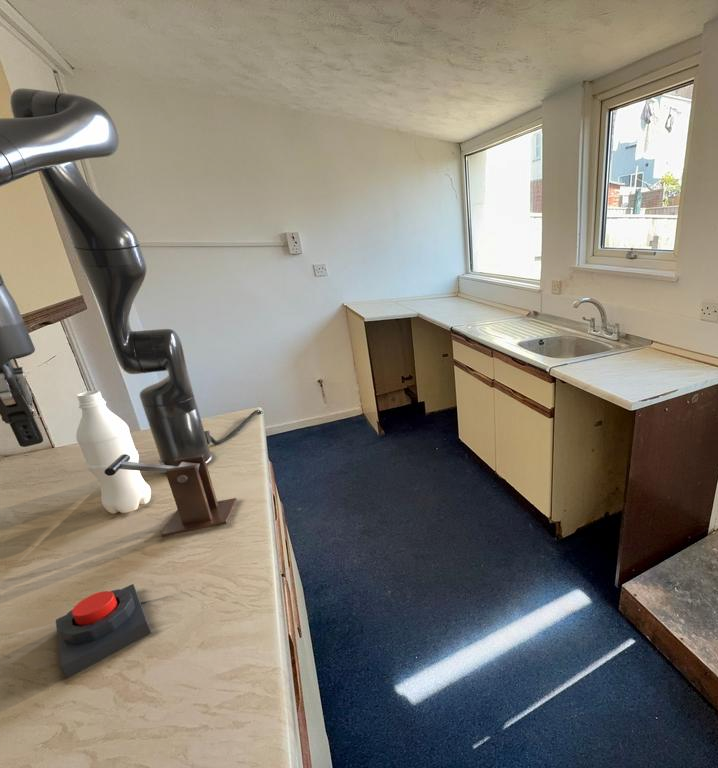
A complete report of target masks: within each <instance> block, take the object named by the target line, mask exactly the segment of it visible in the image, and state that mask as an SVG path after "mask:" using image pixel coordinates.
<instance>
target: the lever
mask: <svg viewBox="0 0 718 768" xmlns="http://www.w3.org/2000/svg"><path fill="white" fill-rule="evenodd" d="M129 460H130V456H129V455H127V454H123V455H121V456H120V457H119V458H118V459H117V460H115V461H114V462H113V463H112V464H111V465H110V466H109V467H108V468H107V469H106V470H105V474H106V475H108V476H112V475H114V474H115V473H116V472H117V471H118V470H119V469H126V470H138V471H140V472H149V473H150V472H151V473H161V474H162V473H163V474H166V470H167V469H172V468H178V467H185V466H191V465H197V468H198V471H199V466H200V464H199V463H189V462H181V463H180V465H179V466H168V465H161V464H157V463H146V462H139V463H137V462H128V461H129Z"/></svg>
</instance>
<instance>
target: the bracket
mask: <svg viewBox="0 0 718 768" xmlns="http://www.w3.org/2000/svg"><path fill="white" fill-rule="evenodd" d="M174 462H175V465H176V466H179V465H180V463H181V462H189V463H199V464H200V466H199V471H198V468H197V465H191V466H185V467H178V468H172V469H167V470H166V473H165V475H166V479H167V482H168V484H169V487H170V491H171V493H172V496H173V500H174V502H175V505H176V511H175V512H174V514H173V515H172V517H171V518H170V520H169V521H168V523H167V524H166V526H165V528H164V529H163V530H162V532H161V534H160V535H161V537H162V538H164V537H169V536H174V535H178V534H184V533H188V532H193V531H198V530H199V531H200V530H204V529H208V528H213V527H219V526H224V525H227V524H228V522H229V520H230V518H231V515H232V513H233V510H234V509H235V506H236V504H237V502H238V498H237V497H234V498H233V497H232V498H227V499H223V500H218V499H217V496H216V493H215V489H214V485H213V482H212V478H211V475H210V470H209V468H208V464H206V461H205V457H204V455H197V456H190V457H183V458H177V459H175V461H174Z"/></svg>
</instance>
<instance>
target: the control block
mask: <svg viewBox="0 0 718 768" xmlns="http://www.w3.org/2000/svg"><path fill="white" fill-rule="evenodd" d="M109 591H110V592H112V593H113V594H114V596H115V598H116V601H117V607H116V609H115V610H114V611H113V612H111V613H110V614H109V615H108V616H106V617H105V618H103V619H101V620H99V621H97V622H95V623H92V624H89V625H85V626H80V625H77V624H76V622H75V619H74V617H73V615H72V610H73V609H71V610H70V611H68V612H67V613H66V614H65V615H62V616H61V617H58V618H56V619H55V626H56V633H57V641H58V643H57V644H58V651H59V659H60V667H61V669H62V671H63V673H64V675H65V676H66V678H67V679H70V678H72V677H73V676H75V675H77V674H79V673H81V672H82V671H84V670H86V669H88V668H90V667H92V666H93V665H95V664H97V663H99V662H101V661H103V660H104V659H106V658H108V657H110V656H112V655H114V654H116V653H118V652H119V651H121V650H123V649H125V648H127V647H128V646H130V645H132V644H134V643H135V642H138V641H139V640H142V639H143V638H145V637H147V636H149V635H150V634H152V631H151V628H150V625H149V622H148V620H147V617H146V613H145V611H144V608H143V605H142V603H141V599H140V598H139V595H138V592H137V589H136V586H135V585H134V583H132V584H129V585H127V586H125V587H123V588H119V589H114V590H109Z"/></svg>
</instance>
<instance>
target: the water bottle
mask: <svg viewBox="0 0 718 768" xmlns="http://www.w3.org/2000/svg"><path fill="white" fill-rule="evenodd" d="M76 397H77V400H78V408H79V410H80V409H81V418H80V420H79V423H78V426H77V430H76V433H75V434H76V435H75V436H76V437H75V438H76V443H78V445H79V447H80V450H81V452H82V455H83V458H84V459H85V462H86V467H87V470H88V471H89V472H90V473H92V474H93V475H94V477H95V478H96V480H97V482H98V483H99V487H100V490H101V491H100V493H101V497H100V502H101V504H102V506H103V508H104V509H105V510H106V511H107V512H108V513H110V514H112V515H114V514H118V513H119V512H120V513H121V514H127V513H131V512H133V511H136V510H137V509H139V506H140V505H146V504H148V503H149V502H150V500H151V496H152V490H151V486H150V485H149V484H148V483H147V482H146V481H145V480H144V477H143V476H142V474H141V471H138V470H126V469H119V470H118V471H117V472H116V473H115V474H114V475H112V476H108V475H106V474H105V470H106V469H107V468H108V467H109V466H110V465H111V464H112V463H113V462H114V461H115V460H117V459H118V458H119V457H120V456H121V455H123V454H127V455H129V456H130V460H129V461H128V462H137V463H140V462H139V461H140V459H139V458H140V455H139V452H138V450H137V449H136V446H135V444H134V440H133V438H132V434H131V432H130V428H129V427H130V426H129V425H128V424H127V423H126V422H125V421H124V420H123V419H122V418H121V417H119V416H118V415H116V414H115V413H114V412H112V411H111V410H110V409H109V408H108V406H107V405H106V404H107V401H106V400H105V399H104V398H103V397H102V393H101V391H100V390H89V391H88V390H87V391H84V392H80V393H78V394H76Z"/></svg>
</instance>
